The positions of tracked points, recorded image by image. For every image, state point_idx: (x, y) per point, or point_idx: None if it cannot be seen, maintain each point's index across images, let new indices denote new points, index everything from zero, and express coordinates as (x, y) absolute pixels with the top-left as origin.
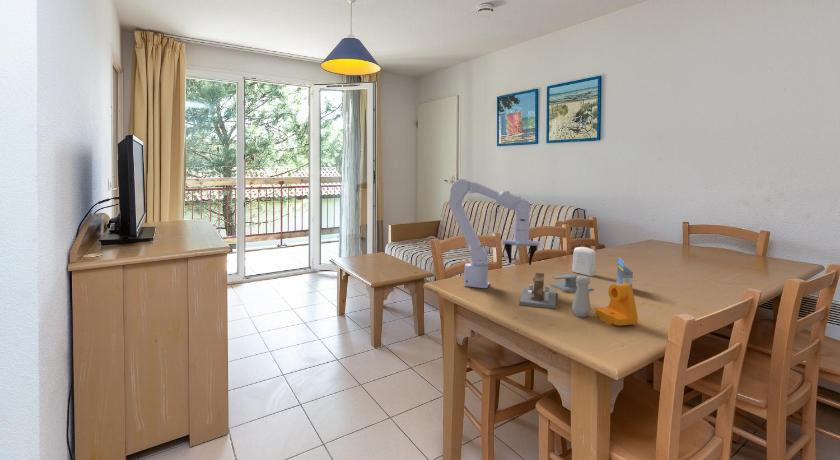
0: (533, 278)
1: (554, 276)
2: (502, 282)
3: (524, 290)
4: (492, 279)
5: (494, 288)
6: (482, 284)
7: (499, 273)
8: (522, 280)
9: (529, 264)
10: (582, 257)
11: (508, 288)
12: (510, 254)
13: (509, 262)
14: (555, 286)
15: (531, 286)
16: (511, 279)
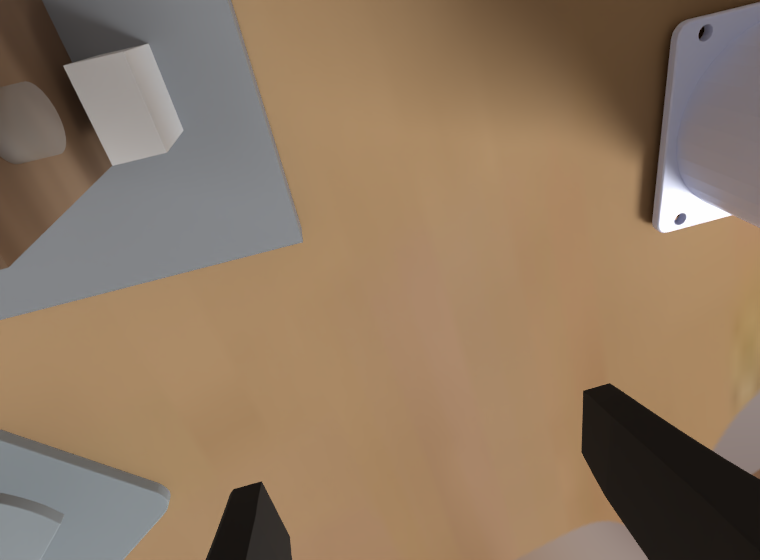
0: (10, 97)
1: (34, 534)
2: (542, 330)
3: (229, 85)
4: (632, 359)
5: (587, 93)
6: (744, 45)
7: (596, 506)
8: (404, 463)
9: (250, 491)
10: None
11: (452, 180)
12: (741, 534)
13: (617, 391)
14: (86, 464)
15: (91, 59)
16: (489, 439)
